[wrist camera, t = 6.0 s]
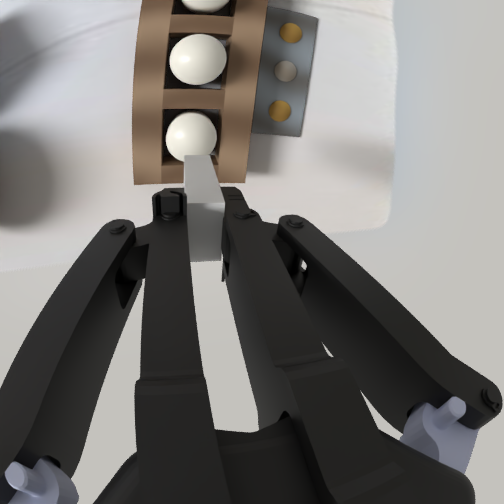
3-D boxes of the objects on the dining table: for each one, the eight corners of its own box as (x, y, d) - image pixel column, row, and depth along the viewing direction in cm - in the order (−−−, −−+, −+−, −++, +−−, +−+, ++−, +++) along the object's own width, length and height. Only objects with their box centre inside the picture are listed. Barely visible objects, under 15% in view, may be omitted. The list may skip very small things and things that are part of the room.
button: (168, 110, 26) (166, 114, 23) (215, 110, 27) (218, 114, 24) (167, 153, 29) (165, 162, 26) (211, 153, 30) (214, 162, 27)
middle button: (173, 39, 20) (172, 33, 18) (224, 40, 22) (229, 35, 19) (169, 84, 23) (167, 84, 20) (219, 84, 24) (223, 85, 22)
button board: (155, -34, 16) (152, -46, 12) (320, -14, 20) (336, -21, 17) (139, 172, 30) (134, 184, 27) (291, 173, 35) (303, 185, 32)
